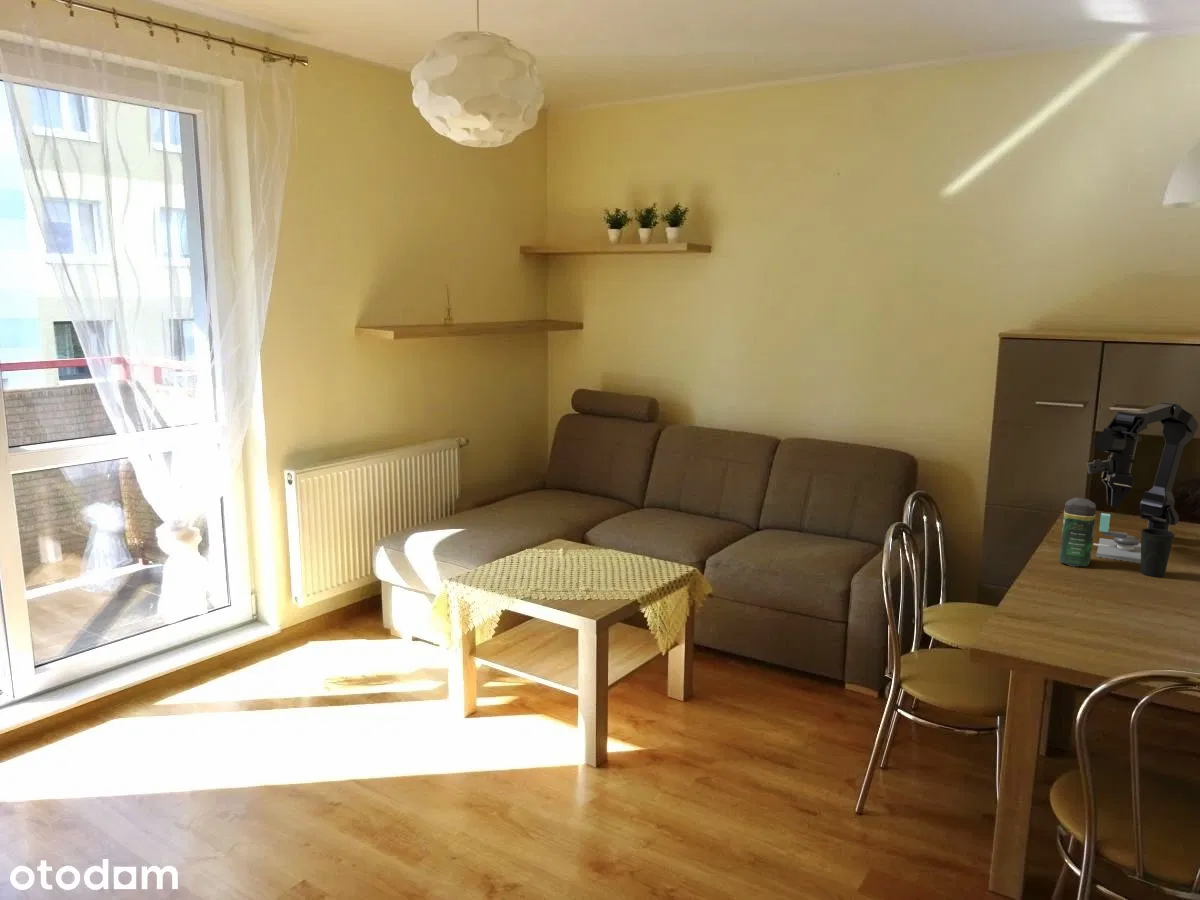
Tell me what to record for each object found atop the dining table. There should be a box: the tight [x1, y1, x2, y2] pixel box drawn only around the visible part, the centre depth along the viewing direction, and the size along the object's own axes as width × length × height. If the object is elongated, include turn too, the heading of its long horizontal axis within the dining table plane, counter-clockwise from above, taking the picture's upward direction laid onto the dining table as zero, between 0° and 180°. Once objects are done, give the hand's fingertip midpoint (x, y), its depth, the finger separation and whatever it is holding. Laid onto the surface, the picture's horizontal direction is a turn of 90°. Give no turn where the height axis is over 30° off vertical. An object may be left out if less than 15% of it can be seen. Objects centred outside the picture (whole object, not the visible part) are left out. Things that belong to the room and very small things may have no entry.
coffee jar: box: [1058, 497, 1097, 567], centre depth 249 cm, size 10×8×19 cm
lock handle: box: [1098, 512, 1140, 545], centre depth 260 cm, size 6×10×8 cm, turn 58°
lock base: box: [1092, 537, 1141, 564], centre depth 260 cm, size 18×15×3 cm
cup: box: [1140, 527, 1175, 578], centre depth 240 cm, size 8×8×12 cm
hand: (1111, 506), depth 259 cm, fingers open, 9 cm apart
